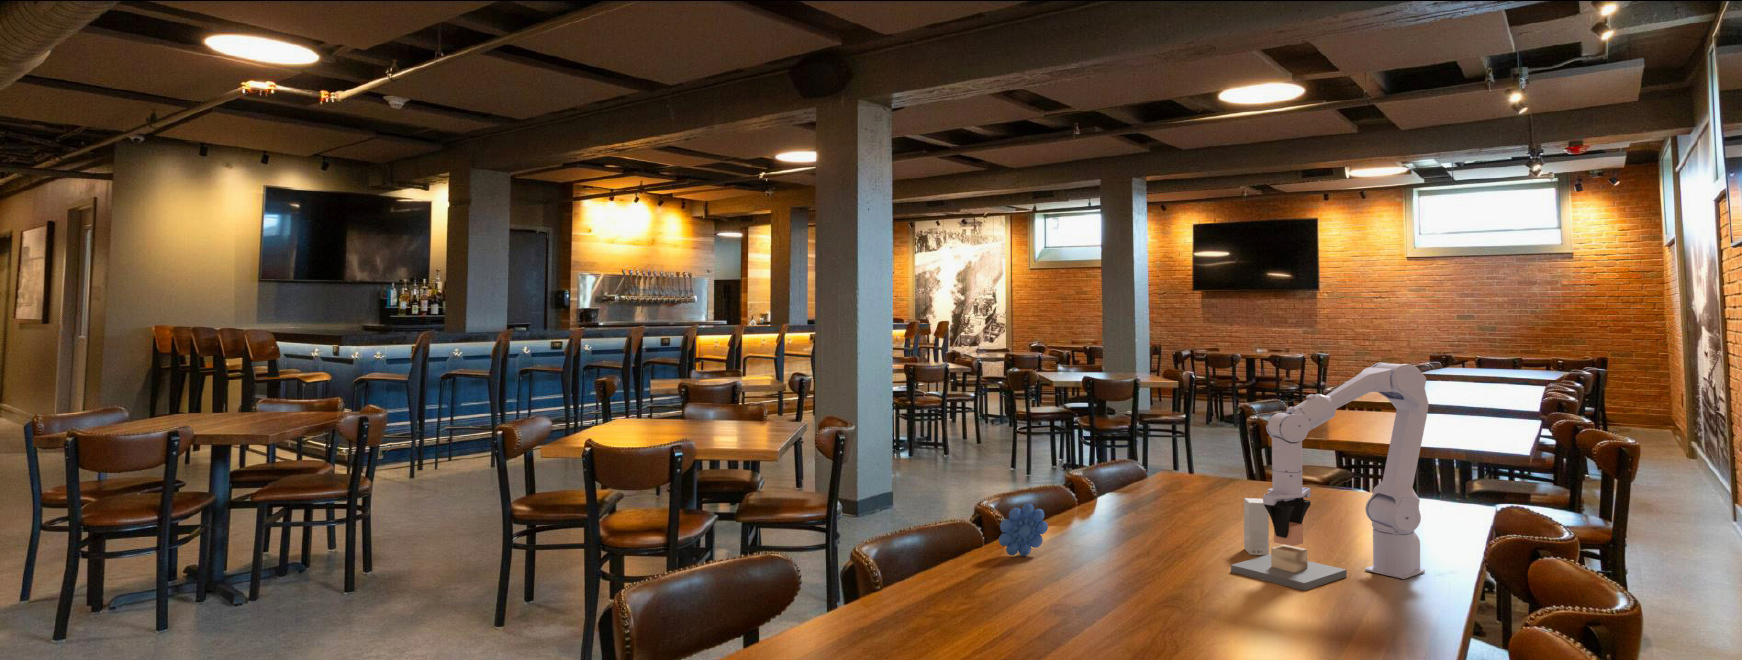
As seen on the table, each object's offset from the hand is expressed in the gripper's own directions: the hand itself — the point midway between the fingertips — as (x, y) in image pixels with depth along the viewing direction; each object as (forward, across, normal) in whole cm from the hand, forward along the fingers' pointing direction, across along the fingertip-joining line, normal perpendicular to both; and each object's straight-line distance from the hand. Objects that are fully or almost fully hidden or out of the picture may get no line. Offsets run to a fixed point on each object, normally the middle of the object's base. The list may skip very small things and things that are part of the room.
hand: (1287, 535), depth 180 cm
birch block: (+7, 0, 0) cm, 7 cm away
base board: (+8, 0, 0) cm, 8 cm away
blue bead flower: (+8, +34, -44) cm, 56 cm away
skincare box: (+8, -11, -14) cm, 20 cm away
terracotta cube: (+2, 0, 0) cm, 2 cm away
